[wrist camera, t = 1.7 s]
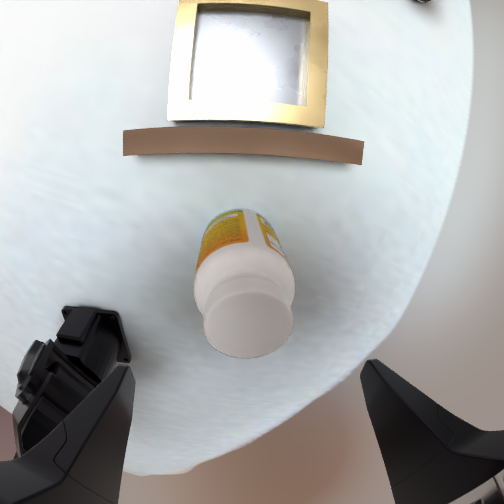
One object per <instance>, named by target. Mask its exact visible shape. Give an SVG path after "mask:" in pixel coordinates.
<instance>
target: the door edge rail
mask: <svg viewBox="0 0 504 504" xmlns="http://www.w3.org/2000/svg"><path fill="white" fill-rule="evenodd" d="M363 148H364V141H359V140H354V139H348V138H342V137H336V136H330V135H323V134H316V133H308V132H299V131H290V130H280V129H267V128H252V127H226V126H187V127H162V128H146V129H135V130H124V131H123V156H129V155H143V154H164V153H241V154H262V155H277V156H290V157H301V158H311V159H320V160H329V161H336V162H344V163H351V164H357V165H362V157H363Z"/></svg>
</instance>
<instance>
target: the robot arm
mask: <svg viewBox="0 0 504 504" xmlns="http://www.w3.org/2000/svg"><path fill="white" fill-rule="evenodd" d="M62 314H63V317H64V320H65V322H64V323H63V325H62V326H61V328H60V330H59V331H58V333H57V334H56V336H57V339H56V340H55V342H53V341H52V340H51V339H49V340H48V341H47V342H46V343H44V342H40V341H38V340H35V341H34V342H33V344H32V345H31V347H30V348H29V350H28V352H27V353H26V355H25V357H24V359H23V361H22V363H21V366H20V368H19V371H18V373H17V377H18V385H17V390H16V394H15V397H16V398H17V399H19V401H18V403H17V405H16V407H15V409H14V411H13V414H12V417H13V428H14V437H15V444H16V450H17V451H16V454H15V456H14V459H13V460H10V461H0V504H118V499H119V491H120V484H121V477H122V470H123V464H124V458H125V452H126V447H127V441H128V436H129V431H130V426H131V421H132V413H133V402H134V392H135V378H134V376H133V373H132V370H131V368H130V366H128V365H118V366H117V367H116V368H115V369H114V367H115V365H116V362H124V363H130V361H131V355H130V352H129V349H128V346H127V342H126V339H125V336H124V332H123V329H122V325H121V322H120V318H119V315H118V314H117V313H116V312H114V311H104V310H94V309H84V308H75V307H67V306H65V307H63V309H62ZM112 316H114V317H115V318H114V317H112ZM360 379H361V383H362V388H363V393H364V397H365V402H366V406H367V410H368V413H369V416H370V419H371V422H372V425H373V428H374V431H375V435H376V438H377V441H378V444H379V447H380V450H381V454H382V457H383V460H384V463H385V467H386V470H387V474H388V477H389V481H390V485H391V487H392V488H391V489H392V493H393V497H394V500H395V504H504V430H502V431H484V430H480V429H478V428H476V427H474V426H473V425H471V424H469V423H467V422H465V421H464V420H462V419H460V418H458V417H457V416H455V415H453V414H452V413H450V412H449V411H447V410H446V409H444V408H443V407H442V406H440V405H439V404H437V403H436V402H435V401H433V400H432V399H431V398H429V397H428V396H427V395H425V394H424V393H422V392H421V391H420V390H418V389H417V388H416V387H414V386H413V385H411V384H410V383H409V382H407V381H406V380H405V379H403V378H402V377H400V376H399V375H398V374H397V373H395V372H394V371H392V370H391V369H390V368H388V367H387V366H386V365H384V364H383V363H382V362H380V361H379V360H377V359H370V360H367V361H366V363H365V365H364V367H363V369H362V371H361V374H360Z"/></svg>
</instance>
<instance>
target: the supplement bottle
mask: <svg viewBox="0 0 504 504" xmlns="http://www.w3.org/2000/svg"><path fill="white" fill-rule="evenodd" d="M294 295H295V282H294V277H293V274H292V270H291V268H290V266H289V263H288V261H287V259H286V257H285V255H284V253H283V250H282V248H281V246H280V244H279V241H278V239H277V237H276V235H275V232H274V230H273V228H272V227H271V225H270V224H269V222H268V221H267V220H266V219H265V218H264V217H262V216H261V215H260V214H258V213H256V212H254V211H251V210H246V209H234V210H229V211H226V212H224V213H221V214H220V215H218V216H217V217H215V218H214V219H213V220H212V221H211V222H210V224H209V225H208V227H207V228H206V230H205V233H204V236H203V239H202V244H201V249H200V254H199V258H198V263H197V268H196V274H195V280H194V297H195V301H196V305H197V307H198V309H199V311H200V313H201V314H202V315H203V317H204V321H203V329H204V333H205V336H206V338H207V340H208V342H209V343H210V344H211V345H212V346H213V347H214V348H215V349H216V350H218V351H219V352H221V353H223V354H225V355H228V356H231V357H235V358H256V357H261V356H264V355H267V354H269V353H271V352H273V351H275V350H277V349H278V348H279V347H281V346H282V345H283V344H284V343H285V342H286V340H287V339H288V338H289V336H290V334H291V331H292V328H293V315H292V311H291V308H290V307H291V305H292V303H293V300H294Z"/></svg>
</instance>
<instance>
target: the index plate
mask: <svg viewBox="0 0 504 504" xmlns="http://www.w3.org/2000/svg"><path fill="white" fill-rule="evenodd" d="M327 68H328V3H327V2H322V1H318V0H179V5H178V11H177V17H176V24H175V31H174V39H173V48H172V57H171V68H170V80H169V94H168V113H167V120H169V121H174V122H176V121H238V122H258V123H271V124H283V125H293V126H301V127H309V128H324V122H325V108H326V91H327Z"/></svg>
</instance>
